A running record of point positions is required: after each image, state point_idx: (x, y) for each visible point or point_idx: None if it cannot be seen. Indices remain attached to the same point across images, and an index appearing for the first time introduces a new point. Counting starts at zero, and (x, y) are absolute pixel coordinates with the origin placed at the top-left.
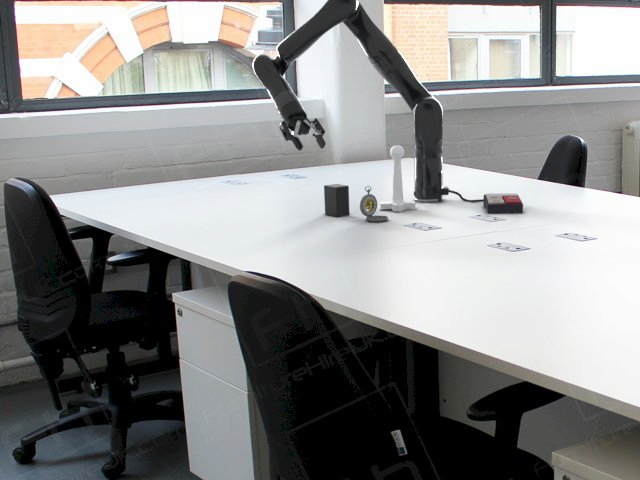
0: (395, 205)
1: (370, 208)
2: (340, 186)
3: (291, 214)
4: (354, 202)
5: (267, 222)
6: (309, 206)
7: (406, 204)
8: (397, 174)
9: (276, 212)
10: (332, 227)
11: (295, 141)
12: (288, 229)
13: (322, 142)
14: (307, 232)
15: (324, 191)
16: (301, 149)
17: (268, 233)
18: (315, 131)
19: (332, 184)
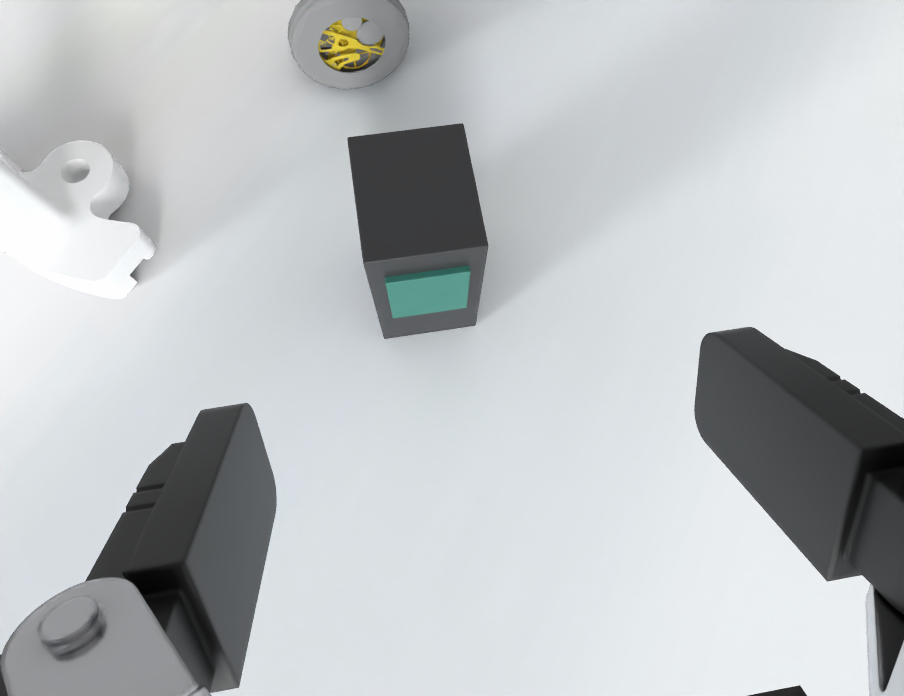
0: (110, 155)
1: (343, 50)
2: (412, 139)
3: (640, 450)
4: None
5: (838, 299)
6: (411, 679)
7: (22, 175)
8: None
9: (700, 580)
10: (595, 34)
11: (886, 418)
12: (788, 95)
13: (239, 426)
14: (732, 5)
15: (484, 262)
16: (701, 390)
17: (894, 68)
18: (180, 686)
19: (409, 251)
